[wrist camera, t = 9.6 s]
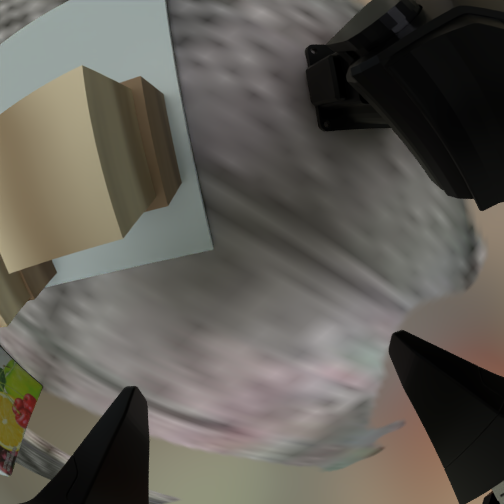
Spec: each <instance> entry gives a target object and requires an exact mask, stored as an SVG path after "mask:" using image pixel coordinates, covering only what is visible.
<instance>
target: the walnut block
mask: <svg viewBox="0 0 504 504" xmlns="http://www.w3.org/2000/svg"><path fill="white" fill-rule="evenodd" d="M120 84H122V85H124V86H126V87H128V88H130V89H132V95H133V100H134V105H135V110H136V115H137V120H138V125H139V130H140V134H141V139H142V143H143V147H144V152H145V156H146V160H147V164H148V168H149V172H150V176H151V180H152V183H153V187H154V191H155V195H156V198H155V199H154V201H153V202H152V203H151V204H150V205H149V207H148V208H147V209H146V210H145V211H144V212H147V211H151V210H155V209H159V208H163V207H167V206H168V205H169V204H170V202H171V200H172V199H173V197H174V195H175V194H176V192H177V190H178V189H179V187H180V185H181V184H182V181H181V177H180V172H179V168H178V163H177V159H176V154H175V149H174V145H173V140H172V135H171V130H170V125H169V120H168V115H167V110H166V104H165V99H164V94H163V93H162V92H160V91H159V90H158V89H157V88H155V87H154V86H153V85H152V84H150V83H149V82H148V81H146V80H145V79H144V78H143V77H141V76H139V77H136V78H133V79H129V80H127V81H124V82H121V83H120Z"/></svg>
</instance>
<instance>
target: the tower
mask: <svg viewBox="0 0 504 504" xmlns="http://www.w3.org/2000/svg"><path fill="white" fill-rule="evenodd" d="M56 273H57V271H56V269H55V266H54V264H53V262H52V260H49V261H46V262H43V263H40V264H37V265H34V266H31V267H28V268H25V269H22V270H19V271H16V272H13V273H10V274H9V272H8V270H7V268H6V266H5V263H4V261H3V259H2V256H1V254H0V327H7V326H8V325H9V324H10V322H11V321H12V320H13V318H14V317H15V316H16V315H17V313H18V312H19V311H20V310H21V308H22V307H23V306H24V305H25V303H26V302H27V301H29V300H34V299H35V298H36V297H37V296H38V295H39V293H40V292H41V291H42V290H43V289H44V287H45V286H46V285H47V284H48V283H49V281H50V280H51V279H52V278H53V277H54V276H55V275H56Z"/></svg>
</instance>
